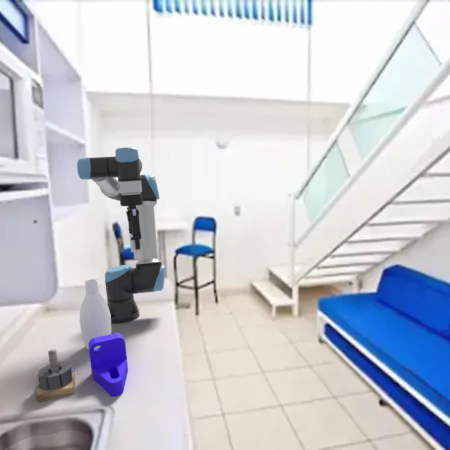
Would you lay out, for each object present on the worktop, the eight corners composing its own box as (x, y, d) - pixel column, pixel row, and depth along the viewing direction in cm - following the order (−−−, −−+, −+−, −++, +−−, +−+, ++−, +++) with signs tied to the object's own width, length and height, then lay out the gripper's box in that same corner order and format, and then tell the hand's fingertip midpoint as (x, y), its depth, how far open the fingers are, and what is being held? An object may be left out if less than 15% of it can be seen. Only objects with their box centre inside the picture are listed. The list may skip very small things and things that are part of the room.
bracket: (91, 373, 122) (87, 339, 120) (125, 364, 126) (122, 331, 125) (97, 402, 106) (93, 362, 104) (136, 390, 110) (132, 352, 109)
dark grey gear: (72, 371, 120) (71, 359, 119) (71, 385, 111) (70, 372, 111) (41, 378, 117) (40, 365, 116) (38, 392, 108) (36, 379, 108)
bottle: (93, 338, 149) (86, 276, 146) (118, 339, 147) (112, 276, 144) (76, 351, 138) (68, 285, 135) (104, 352, 136) (96, 285, 133)
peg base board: (41, 383, 118) (36, 346, 116) (75, 375, 121) (71, 340, 119) (36, 402, 107) (31, 362, 106) (73, 393, 111) (69, 354, 109)
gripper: (117, 193, 138) (123, 250, 141) (121, 196, 114) (128, 263, 117) (138, 192, 140) (143, 247, 143) (146, 194, 117) (152, 260, 120)
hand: (136, 255), depth 130 cm, fingers open, 13 cm apart
